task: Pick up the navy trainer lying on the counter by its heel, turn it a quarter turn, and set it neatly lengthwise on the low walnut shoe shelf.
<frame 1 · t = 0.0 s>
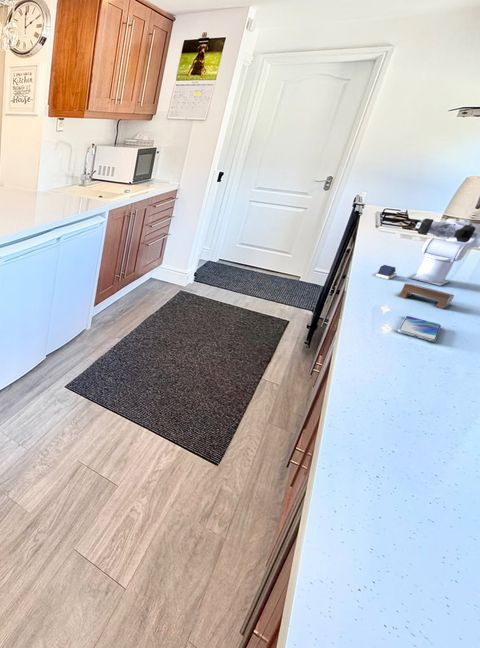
hand: (439, 230, 134), 22 cm above the countertop, tool horizontal, fingers open, 7 cm apart
shoe shelf: (420, 302, 132), on the countertop
trainer: (385, 275, 155), on the countertop
smartphone: (418, 330, 114), on the countertop
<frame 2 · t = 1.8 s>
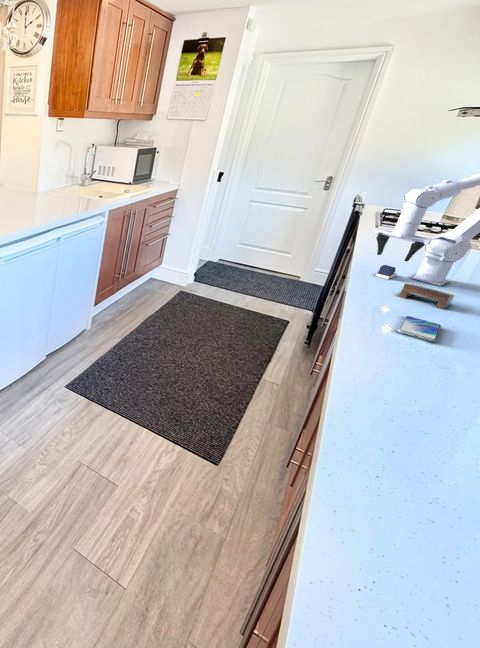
hand: (392, 257, 151), 8 cm above the countertop, tool pointing down, fingers open, 7 cm apart
nothing on the countertop moved.
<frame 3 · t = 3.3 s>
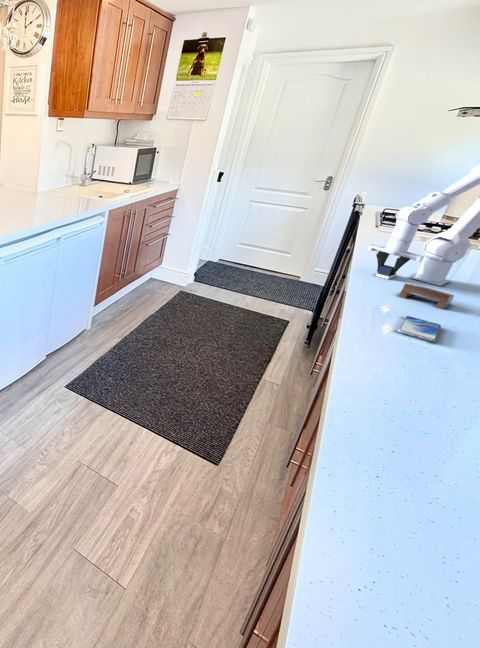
hand: (385, 273, 153), 1 cm above the countertop, tool pointing down, fingers closed on trainer, 3 cm apart
trainer: (385, 275, 155), on the countertop, touching gripper
everything else where it was.
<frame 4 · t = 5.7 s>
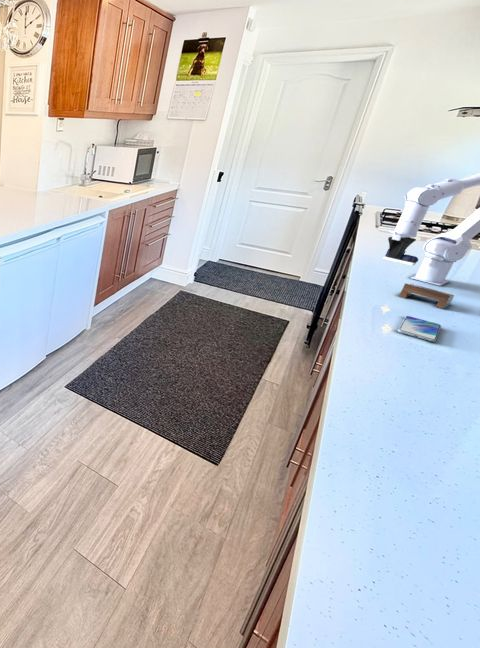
hand: (394, 256, 150), 8 cm above the countertop, tool pointing down, fingers closed on trainer, 3 cm apart
trainer: (398, 261, 149), point 7 cm above the countertop, touching gripper
everything else where it was.
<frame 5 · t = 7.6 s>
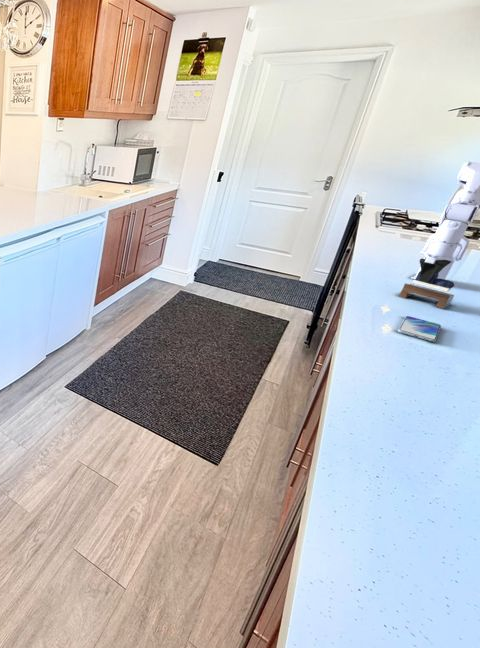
hand: (425, 280, 133), 7 cm above the countertop, tool pointing down, fingers closed on trainer, 3 cm apart
trainer: (431, 286, 132), point 5 cm above the countertop, touching gripper
everything else where it was.
when the fingers open (5 cm above the countertop, at t = 8.5 s): trainer stays where it is, resting on shoe shelf.
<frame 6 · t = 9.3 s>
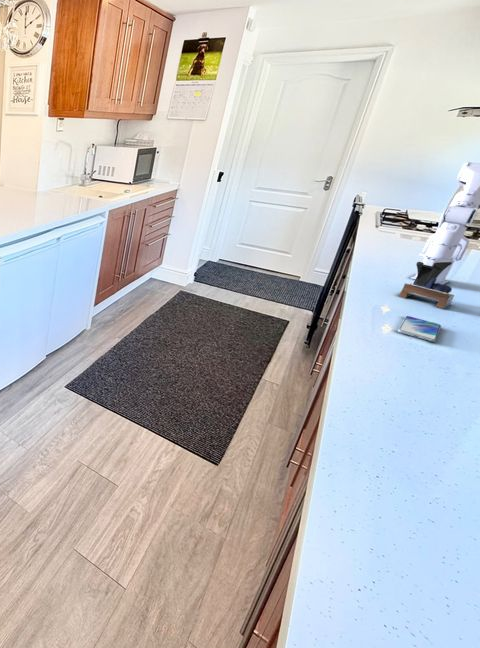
hand: (424, 282, 133), 6 cm above the countertop, tool pointing down, fingers open, 7 cm apart
trainer: (428, 290, 133), point 3 cm above the countertop, touching shoe shelf
everything else where it was.
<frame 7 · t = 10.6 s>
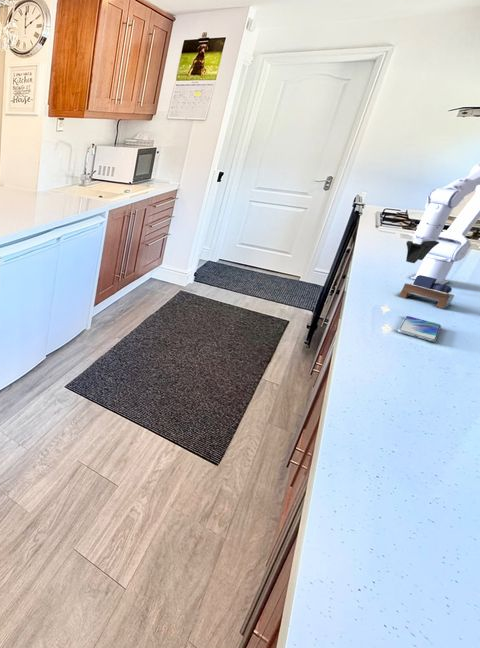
hand: (414, 260, 143), 9 cm above the countertop, tool pointing down, fingers open, 7 cm apart
nothing on the countertop moved.
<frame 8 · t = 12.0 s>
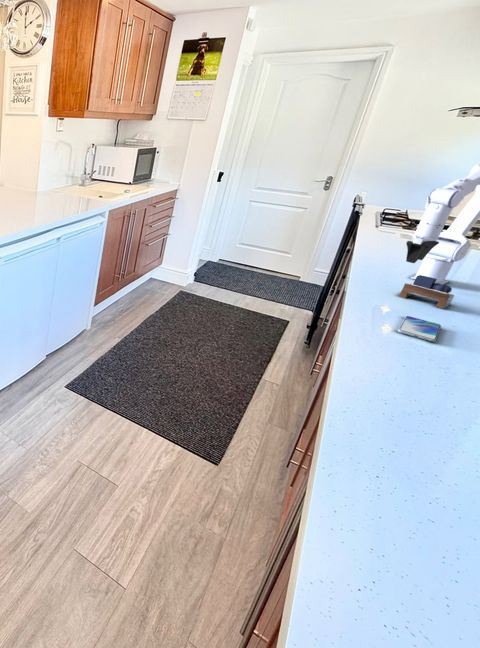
hand: (414, 260, 143), 9 cm above the countertop, tool pointing down, fingers open, 7 cm apart
nothing on the countertop moved.
at the end: trainer 0.0 cm from the target spot on the shoe shelf, point 3.5 cm above the shoe shelf's base; trainer tilted 0°; the gripper is holding nothing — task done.
